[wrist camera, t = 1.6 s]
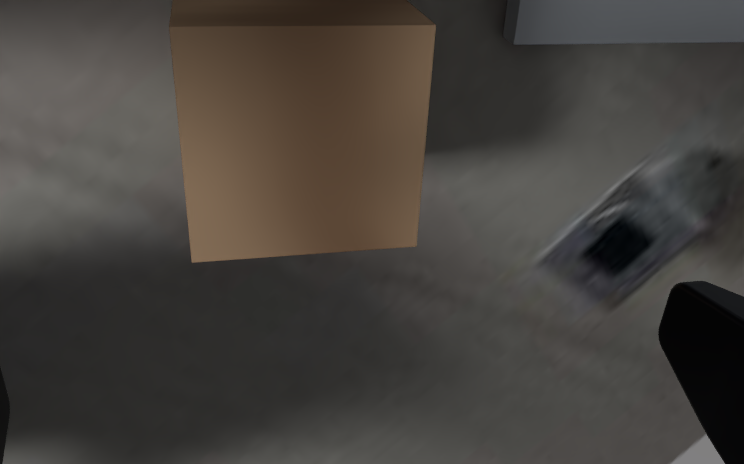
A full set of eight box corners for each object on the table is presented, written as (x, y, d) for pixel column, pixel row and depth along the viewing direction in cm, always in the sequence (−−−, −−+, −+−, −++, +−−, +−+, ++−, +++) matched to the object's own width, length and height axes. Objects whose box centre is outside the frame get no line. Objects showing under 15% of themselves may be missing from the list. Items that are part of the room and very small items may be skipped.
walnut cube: (192, 166, 19) (191, 262, 15) (176, -25, 17) (169, 26, 13) (370, 158, 20) (416, 246, 16) (379, -23, 18) (435, 25, 14)
